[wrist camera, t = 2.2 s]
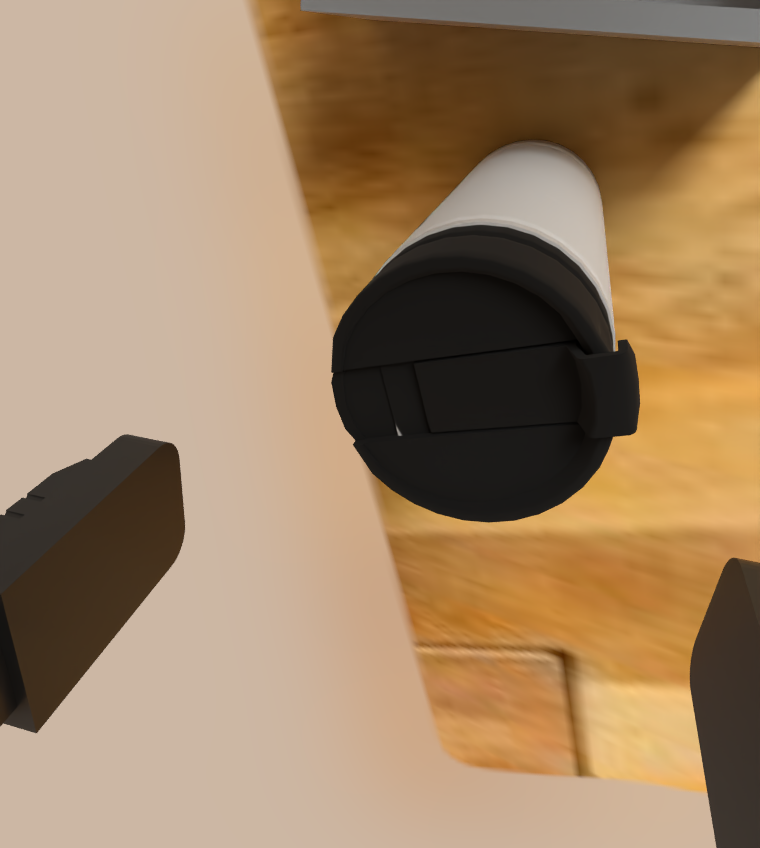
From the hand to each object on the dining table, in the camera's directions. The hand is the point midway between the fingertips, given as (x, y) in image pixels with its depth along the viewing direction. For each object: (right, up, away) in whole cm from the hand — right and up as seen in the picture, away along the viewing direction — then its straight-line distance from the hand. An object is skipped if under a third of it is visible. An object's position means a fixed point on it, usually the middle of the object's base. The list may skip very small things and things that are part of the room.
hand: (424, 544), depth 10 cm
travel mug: (+6, +11, +21) cm, 25 cm away
